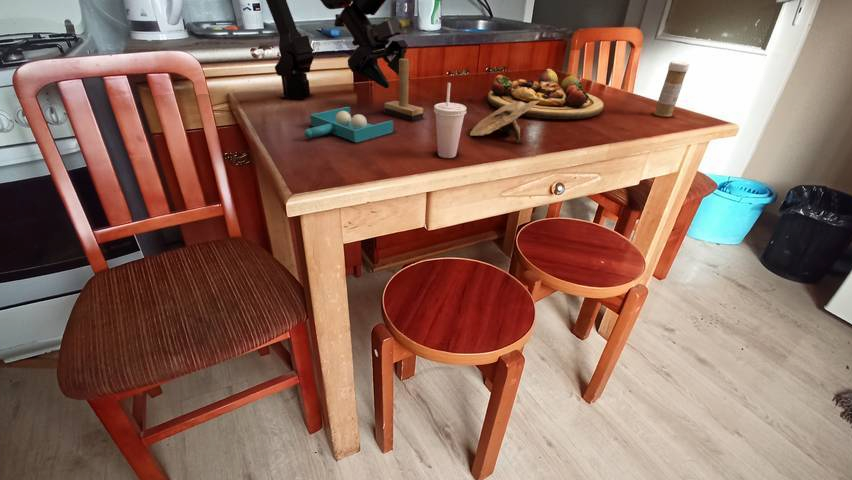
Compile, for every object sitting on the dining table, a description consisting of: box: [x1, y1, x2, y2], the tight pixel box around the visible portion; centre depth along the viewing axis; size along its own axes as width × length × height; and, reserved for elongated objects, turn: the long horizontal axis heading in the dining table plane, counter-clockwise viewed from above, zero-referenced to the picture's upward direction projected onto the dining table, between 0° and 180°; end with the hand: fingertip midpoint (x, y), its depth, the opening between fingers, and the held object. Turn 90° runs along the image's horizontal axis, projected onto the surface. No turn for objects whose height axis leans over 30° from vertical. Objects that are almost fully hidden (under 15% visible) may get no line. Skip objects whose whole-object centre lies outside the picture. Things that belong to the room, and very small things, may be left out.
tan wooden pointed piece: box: [469, 101, 539, 144], centre depth 102 cm, size 18×14×8 cm
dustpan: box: [304, 106, 394, 143], centre depth 102 cm, size 18×16×3 cm
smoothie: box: [433, 82, 467, 159], centre depth 89 cm, size 6×6×14 cm
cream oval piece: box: [351, 113, 368, 130], centre depth 103 cm, size 4×4×4 cm
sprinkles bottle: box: [653, 60, 690, 118], centre depth 119 cm, size 5×5×14 cm
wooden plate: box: [486, 68, 605, 120], centre depth 126 cm, size 32×32×8 cm
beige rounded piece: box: [336, 111, 352, 127], centre depth 105 cm, size 4×4×4 cm
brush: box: [383, 57, 424, 122], centre depth 112 cm, size 4×10×13 cm, turn 47°
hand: (398, 84), depth 111 cm, fingers open, 9 cm apart
